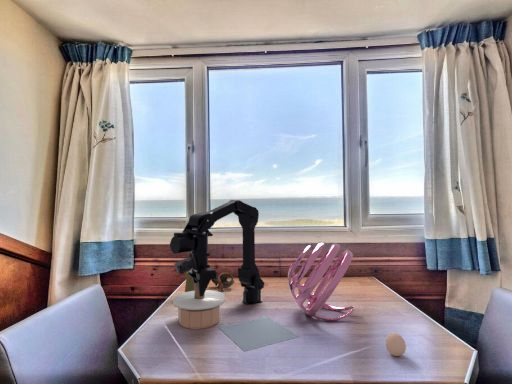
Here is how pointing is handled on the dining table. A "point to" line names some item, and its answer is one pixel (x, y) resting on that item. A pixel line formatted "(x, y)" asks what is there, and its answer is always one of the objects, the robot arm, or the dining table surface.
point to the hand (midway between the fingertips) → (199, 294)
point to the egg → (395, 344)
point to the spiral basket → (306, 289)
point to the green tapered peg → (189, 283)
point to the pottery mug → (223, 281)
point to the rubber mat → (257, 333)
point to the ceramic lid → (198, 299)
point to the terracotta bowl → (199, 317)
